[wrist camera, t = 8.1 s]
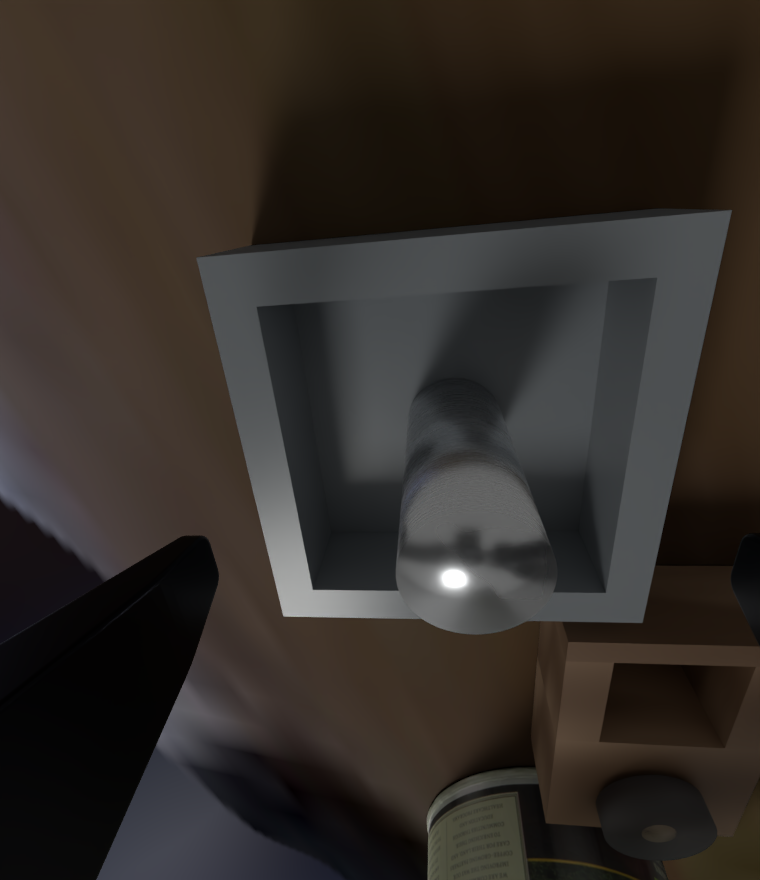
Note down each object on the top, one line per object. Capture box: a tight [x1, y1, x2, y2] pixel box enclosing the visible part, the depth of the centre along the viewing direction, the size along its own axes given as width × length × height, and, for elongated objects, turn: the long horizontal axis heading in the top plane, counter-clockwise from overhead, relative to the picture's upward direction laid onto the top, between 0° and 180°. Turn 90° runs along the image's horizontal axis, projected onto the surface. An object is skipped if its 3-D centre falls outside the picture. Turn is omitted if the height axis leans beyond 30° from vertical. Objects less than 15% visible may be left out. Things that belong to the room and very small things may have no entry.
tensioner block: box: [531, 566, 760, 861], centre depth 15 cm, size 9×6×4 cm, turn 5°
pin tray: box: [197, 208, 732, 623], centre depth 12 cm, size 10×10×3 cm
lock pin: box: [396, 378, 557, 634], centre depth 10 cm, size 2×2×6 cm
